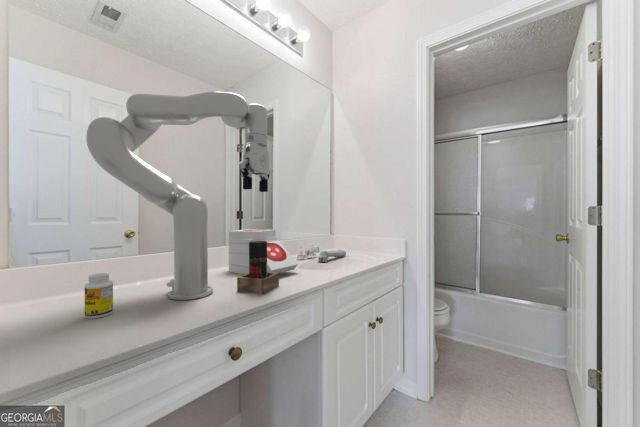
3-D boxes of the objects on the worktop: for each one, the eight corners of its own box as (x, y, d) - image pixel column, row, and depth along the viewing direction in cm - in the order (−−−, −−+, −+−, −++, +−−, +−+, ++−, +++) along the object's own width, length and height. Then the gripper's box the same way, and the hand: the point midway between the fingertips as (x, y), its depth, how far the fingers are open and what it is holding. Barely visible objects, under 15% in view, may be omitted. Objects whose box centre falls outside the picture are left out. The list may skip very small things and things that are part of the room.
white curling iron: (347, 250, 159) (324, 249, 138) (346, 261, 158) (324, 262, 137) (339, 249, 161) (316, 248, 141) (338, 260, 161) (315, 261, 140)
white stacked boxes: (267, 281, 101) (267, 233, 101) (222, 271, 120) (222, 230, 120) (301, 272, 116) (301, 230, 116) (256, 264, 135) (256, 228, 135)
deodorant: (248, 285, 93) (247, 241, 93) (265, 283, 95) (264, 240, 95) (250, 289, 87) (250, 243, 87) (269, 287, 90) (268, 242, 90)
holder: (237, 291, 88) (237, 277, 88) (253, 283, 98) (253, 271, 98) (264, 294, 85) (264, 279, 85) (278, 285, 94) (278, 273, 94)
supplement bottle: (79, 317, 66) (79, 276, 66) (104, 310, 72) (104, 271, 72) (93, 320, 64) (93, 278, 64) (118, 312, 69) (118, 273, 70)
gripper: (250, 133, 85) (250, 187, 85) (277, 146, 101) (277, 192, 101) (231, 135, 87) (230, 188, 87) (260, 148, 104) (260, 192, 103)
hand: (255, 190), depth 94 cm, fingers open, 9 cm apart
